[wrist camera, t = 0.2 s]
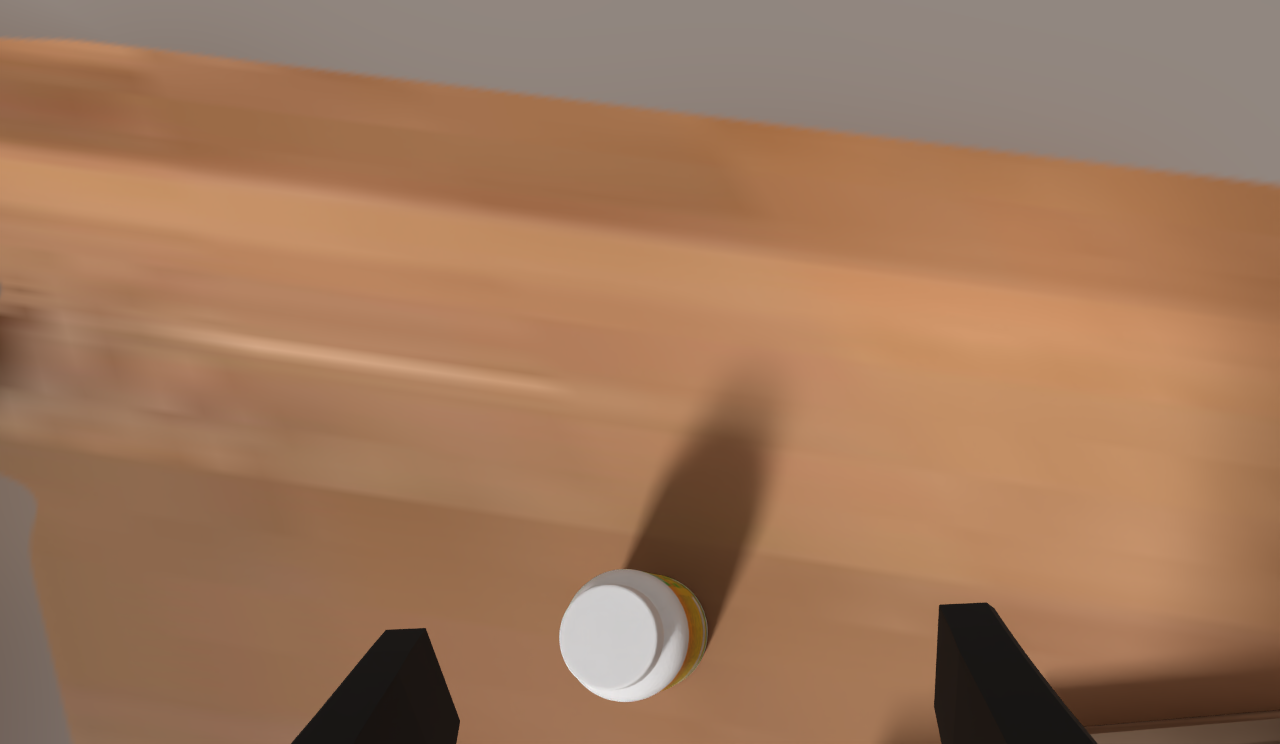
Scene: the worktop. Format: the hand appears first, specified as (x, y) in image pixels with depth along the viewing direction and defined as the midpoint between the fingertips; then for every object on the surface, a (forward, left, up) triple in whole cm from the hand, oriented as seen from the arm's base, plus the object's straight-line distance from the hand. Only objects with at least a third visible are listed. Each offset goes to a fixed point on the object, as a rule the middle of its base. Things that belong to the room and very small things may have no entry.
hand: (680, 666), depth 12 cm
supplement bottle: (+1, +6, -31) cm, 32 cm away
